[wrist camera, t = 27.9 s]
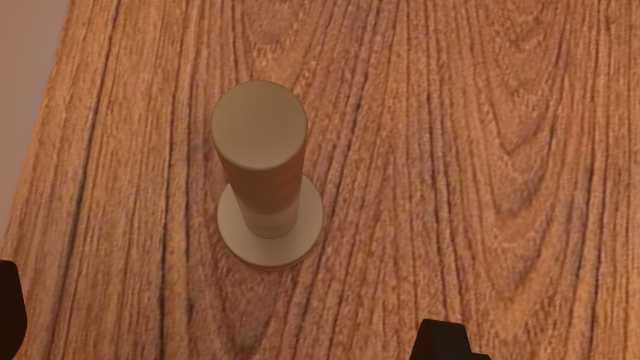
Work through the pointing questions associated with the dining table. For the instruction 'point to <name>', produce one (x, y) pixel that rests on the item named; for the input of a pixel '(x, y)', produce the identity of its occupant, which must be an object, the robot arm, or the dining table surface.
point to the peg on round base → (265, 176)
